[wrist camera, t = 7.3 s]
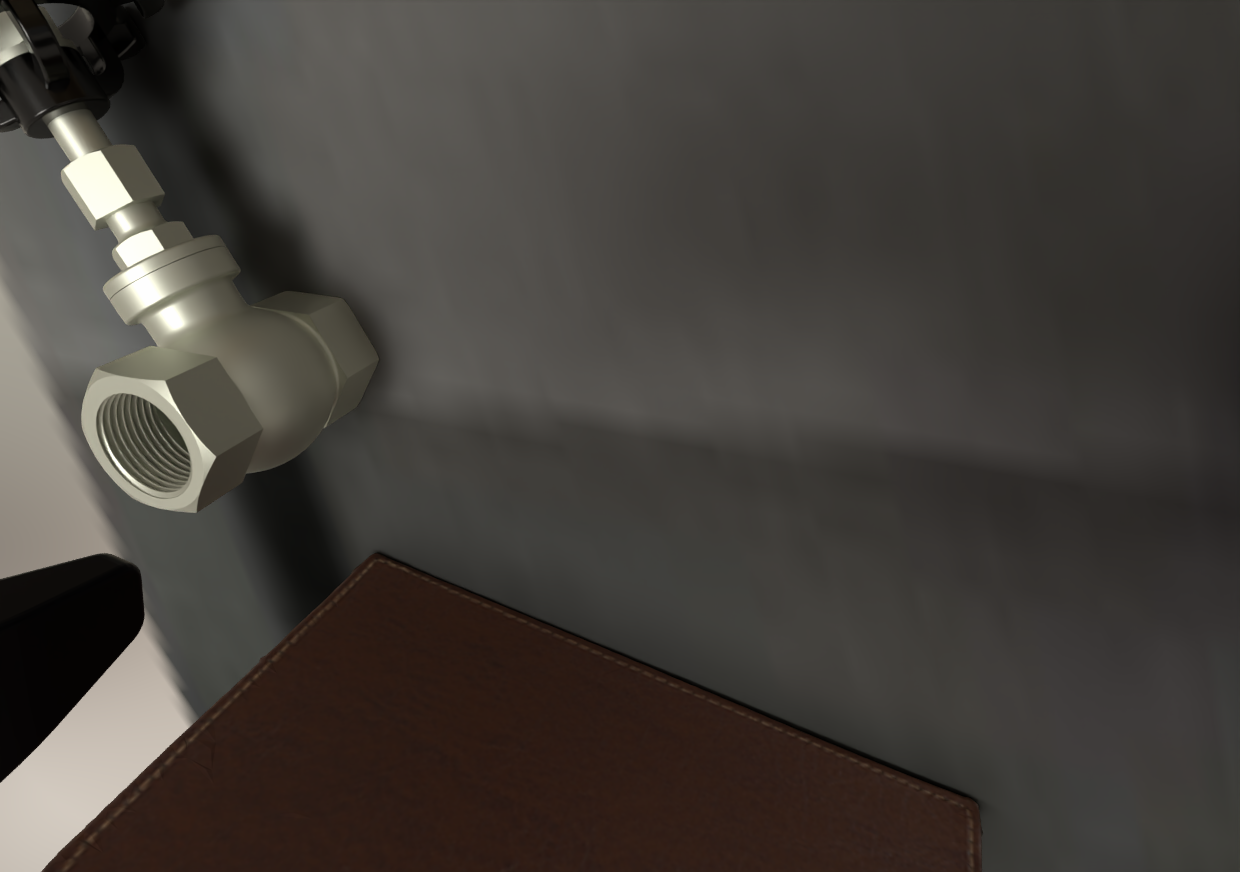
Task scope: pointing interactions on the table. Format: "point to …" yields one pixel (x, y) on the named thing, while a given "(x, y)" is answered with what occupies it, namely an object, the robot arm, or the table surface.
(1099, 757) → the table surface
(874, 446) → the table surface
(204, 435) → the valve
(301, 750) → the letter holder
